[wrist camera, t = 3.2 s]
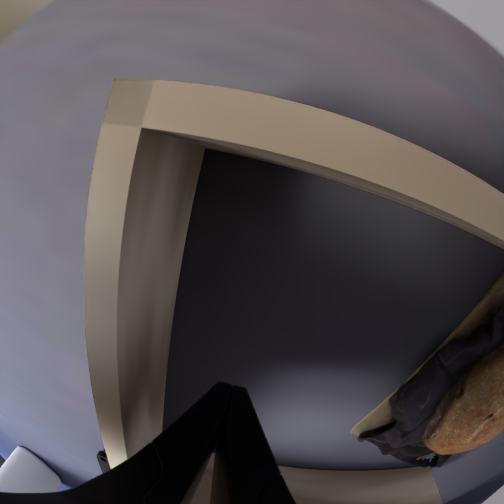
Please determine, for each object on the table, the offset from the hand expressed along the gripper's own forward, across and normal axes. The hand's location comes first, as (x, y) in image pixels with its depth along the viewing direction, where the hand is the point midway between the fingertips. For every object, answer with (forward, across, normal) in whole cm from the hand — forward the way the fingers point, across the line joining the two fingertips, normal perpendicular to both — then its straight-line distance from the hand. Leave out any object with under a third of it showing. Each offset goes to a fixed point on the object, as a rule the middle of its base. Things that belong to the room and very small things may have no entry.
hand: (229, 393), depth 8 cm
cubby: (+2, -5, 0) cm, 5 cm away
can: (+2, +18, +26) cm, 32 cm away
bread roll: (+2, -11, 0) cm, 11 cm away
